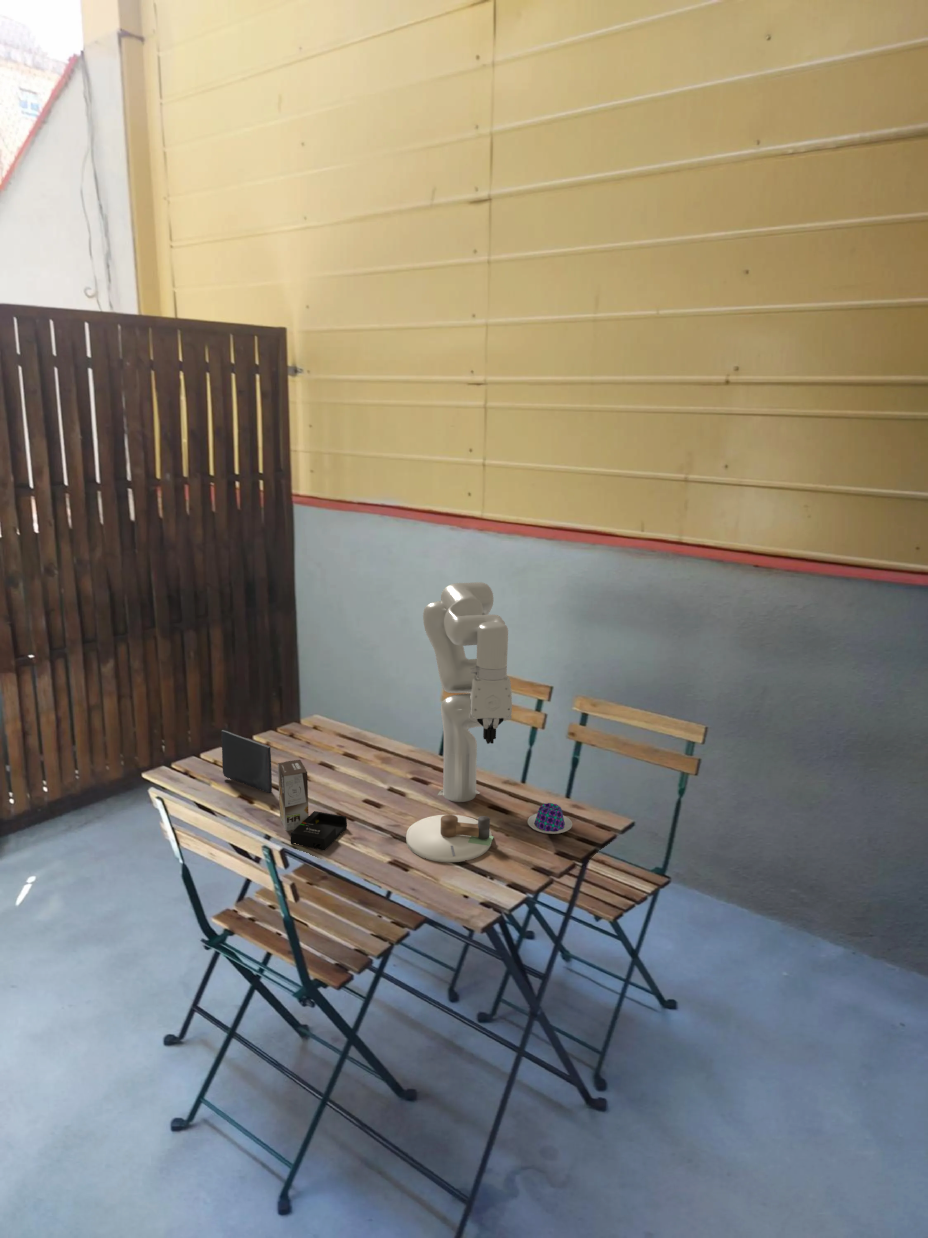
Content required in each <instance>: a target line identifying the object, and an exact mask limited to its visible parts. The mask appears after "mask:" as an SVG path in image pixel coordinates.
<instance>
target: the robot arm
mask: <svg viewBox="0 0 928 1238" xmlns="http://www.w3.org/2000/svg"><path fill="white" fill-rule="evenodd" d="M493 605H494V593H493V590H492V588H491V587H490V585H488V584H487V583H485V582H482V581H480V582H479V581H476V582H456V583H452V584H451V583H450V584H449V585H447V586H446V587H445V588H443V590H442V592H441V594H440V600H437V601H433V602H430V603H428V604H427V605H426V606H425V607H424V610H423V613H422V614H423V615H422V620H423V625H424V631H425V633H426V636H427V638H428V640H429V642H430V644H431V647H432V649H433V651H434V653H435V659H436V666H437V670H438V675H439V680H440V686H442V687H441V688H442V689H443V691H444V692H446V693H447V694H448V693H449V694H454V695H449V696H448V697H445V699H443V700H442V702H441V704H440V714H441V720H442V721H441V722H442V729H443V773H442V774H443V775H442V776H443V778H442V779H443V783H442V785H443V786H442V788H443V789H441V790H440V791H439V792H437V793H438V794H437V796H442V797H444V799H446V800H448V801H449V802H450V801H451V802H456V803H465V802H469V801H471V800H474V799H475V798H476V796H477V795H478V794H481V792H480V791H478V790H477V766H478V765H477V761H478V759H477V758H478V752H477V751H478V742H477V739H476V737H475V736H474V734H473V733H472V732H471V731H470V729H472V728H480V727H481V728H482V727H483V731H482V738H483V740H485V742H486V744H487V745H489V744H491V745H493V744H494V740H496V738H497V728H498V727H499V725H501V724H502V723H503V722H505V721H509V720H511V719H512V713H513V704H512V703H513V699H512V698H513V695H512V685H511V684H512V683H511V678H510V677H509V676H508V674H507V673H508V667H507V666H508V647H509V628H508V626H507V625H506V623H505V621H504V620H503V618H502V616H500V615H498V614H490V612H491V610H492V609H493ZM464 646H465V647H466V646H476V658H471V659H469V658H467V657H466V653H465V648H464Z"/></svg>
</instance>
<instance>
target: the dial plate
mask: <svg viewBox="0 0 928 1238" xmlns="http://www.w3.org/2000/svg"><path fill="white" fill-rule="evenodd" d="M444 815H445V814H438V815H431V816H428V817H424V818H421V819H419V820H417V821H416V822H414V823H412V824H411V825H410V826H409V827H408V829H407V831H406V833H405V834H406V838H405V839H406V840H405V841H406V842H405V843H406V845H407V847H408V849H409V850H410V851H411V852H412V853H413V854H415V855H417V856H419V858H420V857H421V858H423V859H425V858H426V859H425V860H428V861H432V862H437V863H438V862H440V863H459V862H460V863H461V862H466V861H465V860H467V861H470V860H473V859H476V858H478V857H481V856H482V855H484V854H485V853H487V852H488V851H489V849H490V848H491V846H492V843H493V839H494V838H495V836H493V835H492V831H491V830H490V834H489V838H488V839H479V838H478V837H475V836H467V835H458V834H457V835H456V836H454V837H445V836H442V835H441V817H442V816H444ZM453 815H454V816H456V817H457V818H458V822H461V823H470V824H478V819H475V818H472V817H469V816H465V815H458V814H453Z"/></svg>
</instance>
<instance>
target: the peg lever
mask: <svg viewBox="0 0 928 1238" xmlns="http://www.w3.org/2000/svg"><path fill="white" fill-rule="evenodd" d="M443 815H444V816H442V817H441V835H442V836H445V837H454V836H456V835H457V834H458V835H467V836H475V837H478V838H479V839H488V838H489V834H490V831H491V829H490V825H491V824H490V823H491V818H490V817H489V816H486V815H481V816H478V818H477V820H478V824H470V823H461V822H458V818H457V817H456V816H454V815H455V814H443Z"/></svg>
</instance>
